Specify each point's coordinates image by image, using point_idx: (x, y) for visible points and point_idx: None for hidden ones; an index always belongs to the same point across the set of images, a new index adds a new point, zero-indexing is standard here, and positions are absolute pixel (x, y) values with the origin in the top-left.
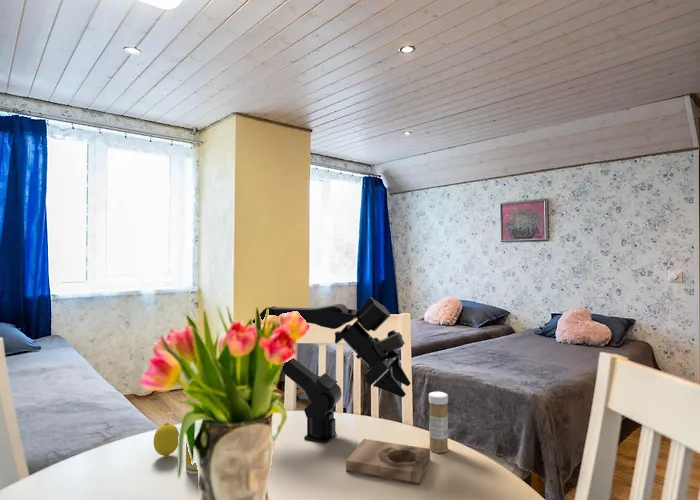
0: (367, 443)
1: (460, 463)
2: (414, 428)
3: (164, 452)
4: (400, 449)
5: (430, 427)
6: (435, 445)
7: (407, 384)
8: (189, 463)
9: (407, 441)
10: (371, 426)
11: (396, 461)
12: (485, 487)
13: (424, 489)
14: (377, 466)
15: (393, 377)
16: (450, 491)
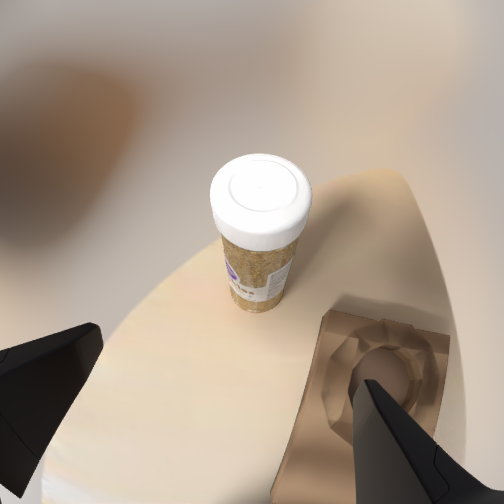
0: (308, 490)
1: (327, 247)
2: (113, 337)
3: None
4: (344, 396)
5: (271, 289)
6: (280, 293)
7: (97, 346)
8: None
9: (204, 372)
10: (104, 456)
11: None
12: (407, 221)
13: (443, 329)
14: (432, 433)
15: (451, 489)
16: (437, 282)
